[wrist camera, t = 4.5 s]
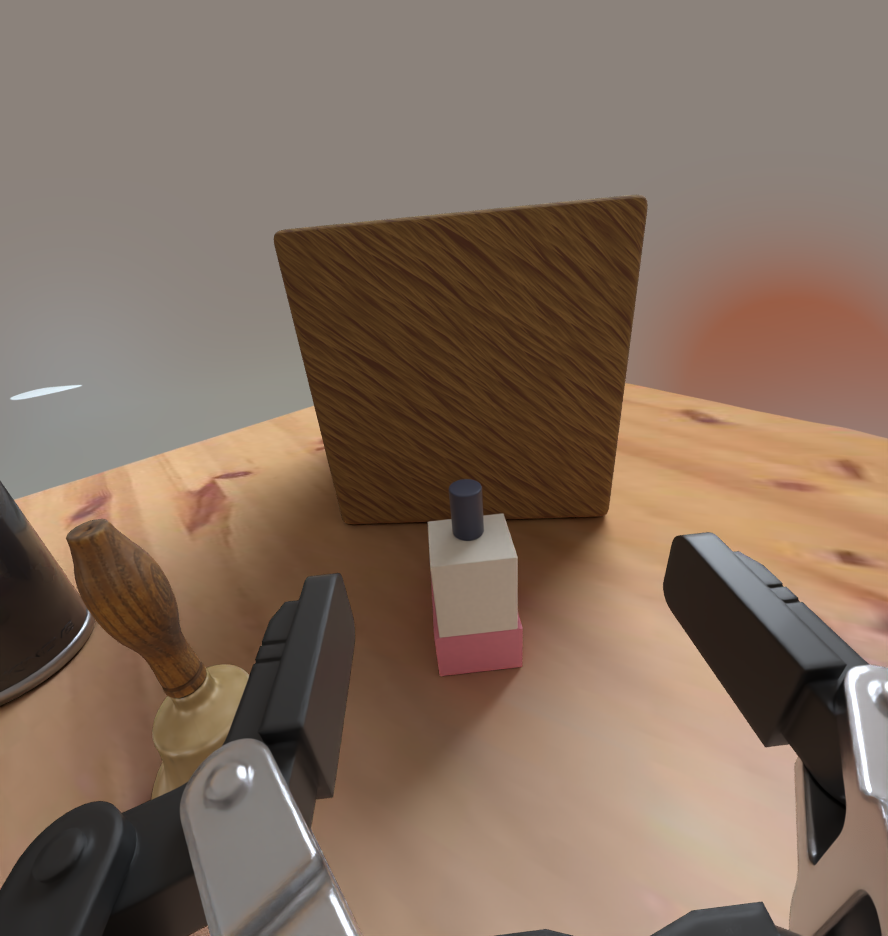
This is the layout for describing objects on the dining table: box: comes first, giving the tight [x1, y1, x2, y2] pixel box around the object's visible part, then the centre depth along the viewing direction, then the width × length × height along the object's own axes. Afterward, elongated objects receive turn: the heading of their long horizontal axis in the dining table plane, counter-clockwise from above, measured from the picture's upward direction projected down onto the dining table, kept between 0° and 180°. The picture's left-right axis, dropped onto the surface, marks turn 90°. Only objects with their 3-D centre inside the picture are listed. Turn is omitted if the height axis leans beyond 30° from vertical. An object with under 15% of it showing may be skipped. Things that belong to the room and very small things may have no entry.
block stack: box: [428, 479, 523, 676], centre depth 28 cm, size 10×5×12 cm, turn 4°
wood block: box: [274, 195, 647, 524], centre depth 44 cm, size 25×25×25 cm
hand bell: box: [66, 519, 249, 800], centre depth 19 cm, size 8×8×16 cm
